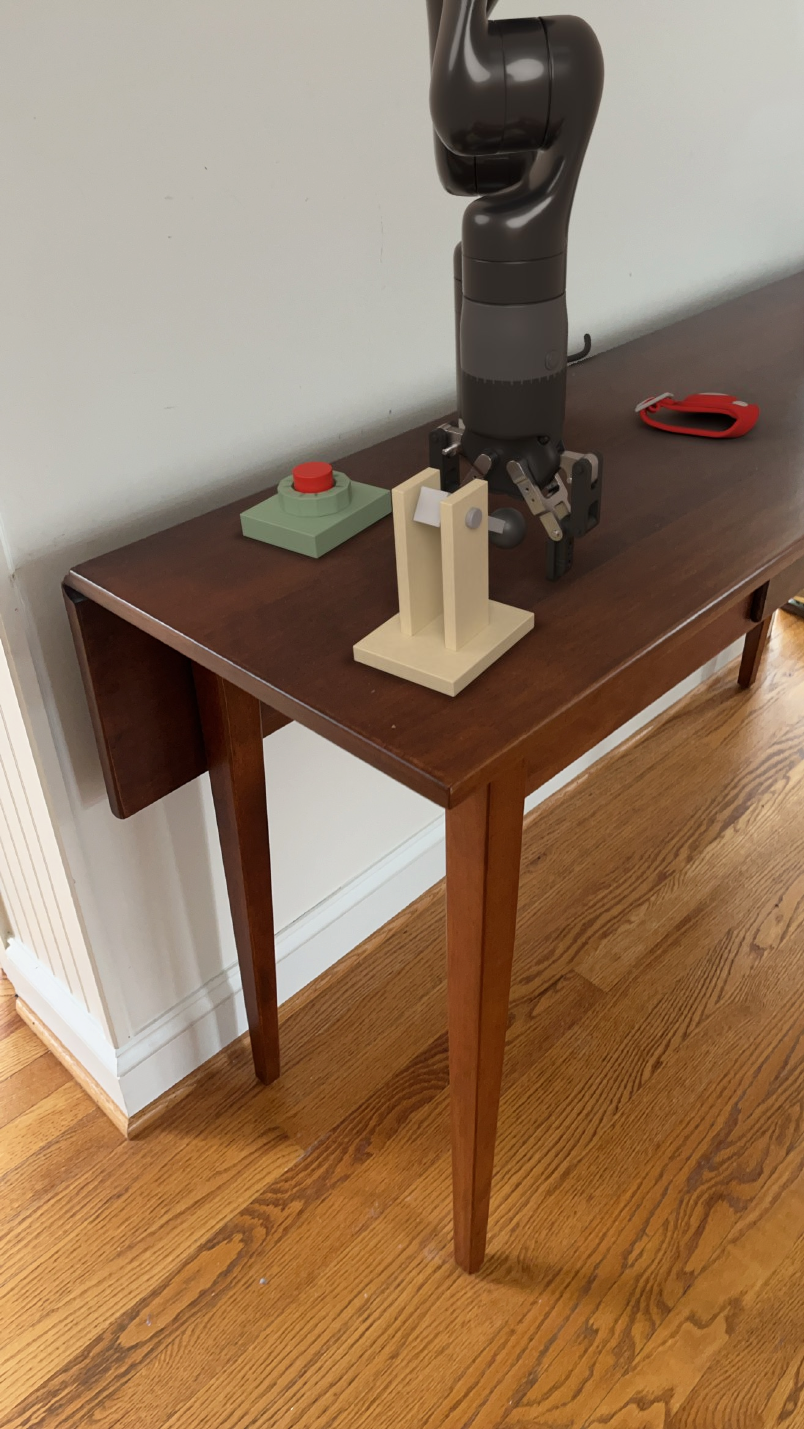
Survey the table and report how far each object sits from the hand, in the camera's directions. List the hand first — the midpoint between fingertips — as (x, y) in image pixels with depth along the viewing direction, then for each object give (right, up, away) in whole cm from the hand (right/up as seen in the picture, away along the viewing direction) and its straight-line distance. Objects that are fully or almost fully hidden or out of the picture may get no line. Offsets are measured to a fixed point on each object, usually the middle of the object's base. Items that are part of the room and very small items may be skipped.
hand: (511, 564), depth 82 cm
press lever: (-4, +1, -7) cm, 8 cm away
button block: (-17, +6, +13) cm, 22 cm away
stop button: (-17, +9, +11) cm, 22 cm away
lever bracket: (-6, -7, -5) cm, 10 cm away
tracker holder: (+23, +19, +28) cm, 41 cm away
